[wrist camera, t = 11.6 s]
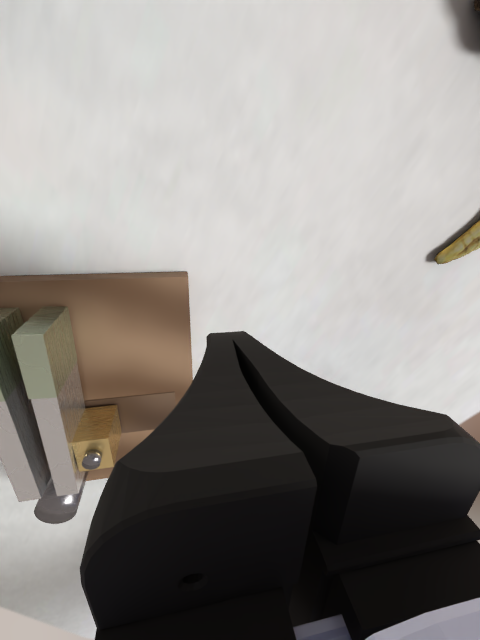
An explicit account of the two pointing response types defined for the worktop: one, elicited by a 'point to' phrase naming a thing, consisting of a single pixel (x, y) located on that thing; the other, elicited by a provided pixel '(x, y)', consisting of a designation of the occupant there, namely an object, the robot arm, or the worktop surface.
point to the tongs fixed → (26, 435)
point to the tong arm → (53, 390)
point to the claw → (471, 238)
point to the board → (120, 341)
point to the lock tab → (97, 438)
